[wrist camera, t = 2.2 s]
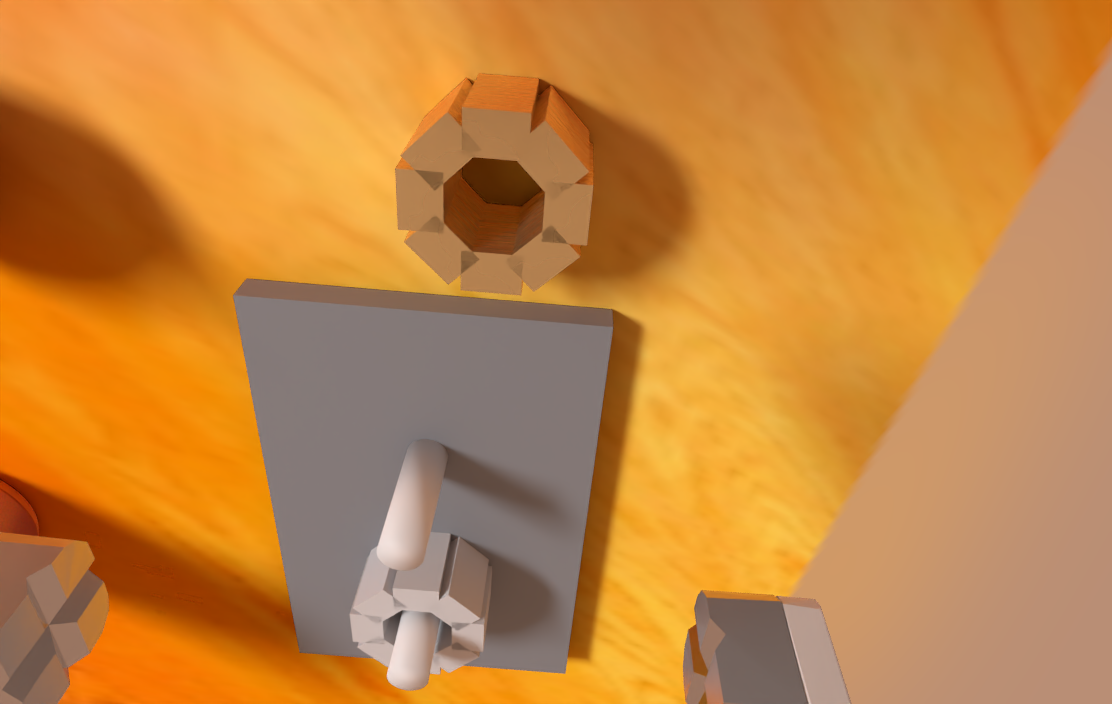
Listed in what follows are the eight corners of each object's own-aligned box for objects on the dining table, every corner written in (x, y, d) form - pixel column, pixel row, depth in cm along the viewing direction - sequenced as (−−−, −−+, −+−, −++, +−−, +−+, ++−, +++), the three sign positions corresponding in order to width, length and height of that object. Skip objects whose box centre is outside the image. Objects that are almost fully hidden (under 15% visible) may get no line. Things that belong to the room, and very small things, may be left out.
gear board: (246, 278, 27) (163, 381, 21) (612, 309, 27) (618, 418, 22) (307, 631, 38) (262, 755, 32) (565, 651, 38) (561, 778, 33)
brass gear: (418, 68, 22) (392, 101, 19) (599, 83, 22) (600, 118, 19) (422, 234, 25) (400, 284, 22) (581, 247, 25) (581, 300, 22)
